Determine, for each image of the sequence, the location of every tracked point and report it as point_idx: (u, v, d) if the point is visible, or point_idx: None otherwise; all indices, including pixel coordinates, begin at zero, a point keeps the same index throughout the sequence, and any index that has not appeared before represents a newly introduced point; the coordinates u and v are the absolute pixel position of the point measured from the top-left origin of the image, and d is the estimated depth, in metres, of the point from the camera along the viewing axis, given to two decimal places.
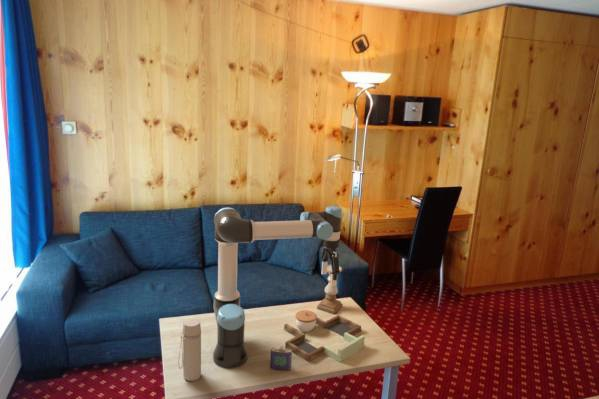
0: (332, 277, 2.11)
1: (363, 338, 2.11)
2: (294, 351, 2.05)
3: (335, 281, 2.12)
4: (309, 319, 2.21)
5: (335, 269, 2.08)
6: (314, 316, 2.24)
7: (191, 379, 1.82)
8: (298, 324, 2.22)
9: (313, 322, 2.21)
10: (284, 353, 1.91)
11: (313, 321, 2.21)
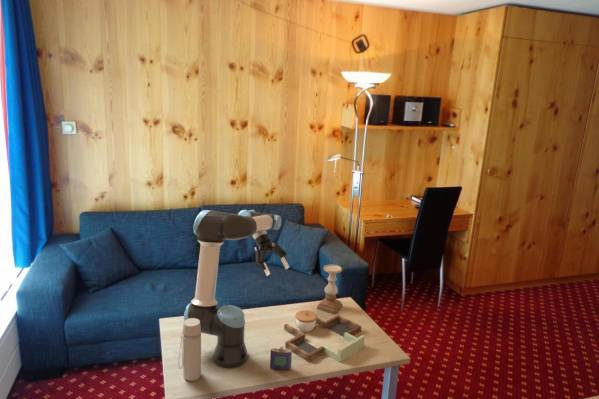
0: (285, 260, 2.41)
1: (363, 338, 2.11)
2: (294, 351, 2.05)
3: None
4: (309, 319, 2.21)
5: None
6: (314, 316, 2.24)
7: (191, 379, 1.82)
8: (298, 324, 2.22)
9: (313, 322, 2.21)
10: (284, 353, 1.91)
11: (313, 321, 2.21)
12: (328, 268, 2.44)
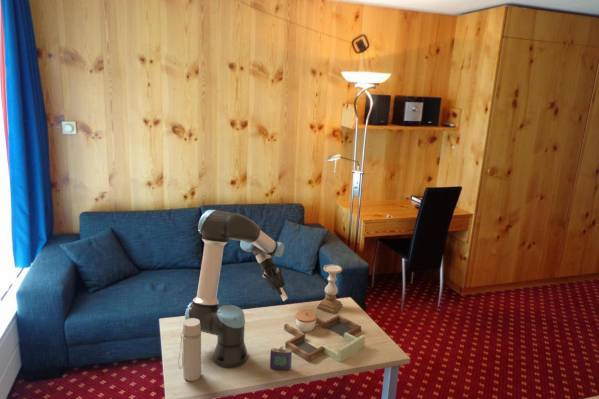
0: (283, 290, 2.37)
1: (363, 338, 2.11)
2: (294, 351, 2.05)
3: None
4: (309, 319, 2.21)
5: None
6: (314, 316, 2.24)
7: (191, 379, 1.82)
8: (298, 324, 2.22)
9: (313, 322, 2.21)
10: (284, 353, 1.91)
11: (313, 321, 2.21)
12: (328, 268, 2.44)
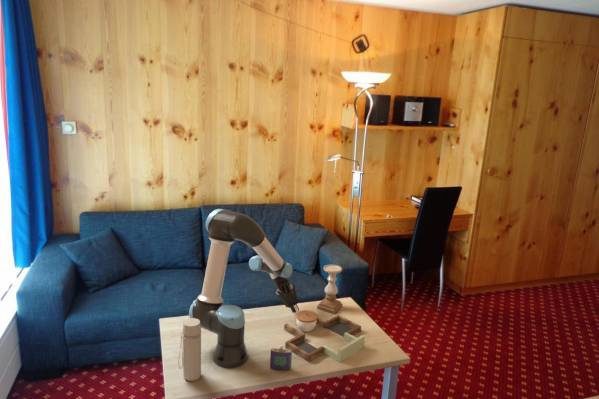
0: (297, 308, 2.32)
1: (363, 338, 2.11)
2: (294, 351, 2.05)
3: None
4: (310, 319, 2.20)
5: None
6: (315, 316, 2.23)
7: (191, 379, 1.82)
8: (299, 324, 2.22)
9: (314, 322, 2.21)
10: (284, 353, 1.91)
11: (314, 321, 2.21)
12: (328, 268, 2.44)
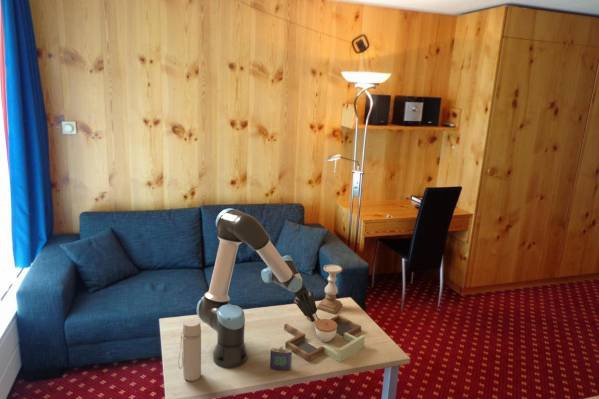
0: (316, 317, 2.24)
1: (363, 338, 2.11)
2: (294, 351, 2.05)
3: None
4: (330, 328, 2.13)
5: None
6: (335, 325, 2.16)
7: (191, 379, 1.82)
8: (318, 333, 2.14)
9: (334, 331, 2.14)
10: (284, 353, 1.91)
11: (334, 330, 2.14)
12: (328, 268, 2.44)
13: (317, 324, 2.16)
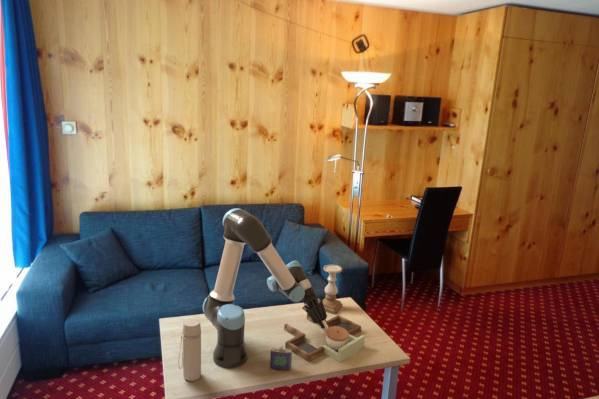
0: None
1: (363, 338, 2.11)
2: (294, 351, 2.05)
3: None
4: (341, 338, 2.06)
5: None
6: (346, 334, 2.09)
7: (191, 379, 1.82)
8: (329, 342, 2.07)
9: (345, 341, 2.07)
10: (284, 353, 1.91)
11: (345, 340, 2.07)
12: (328, 268, 2.44)
13: (328, 332, 2.09)
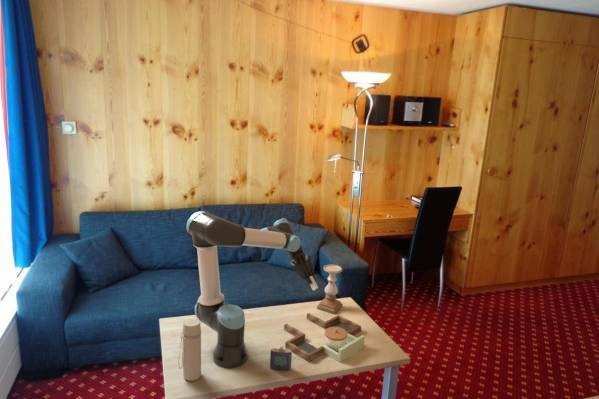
0: (313, 279, 2.19)
1: (363, 338, 2.11)
2: (294, 351, 2.05)
3: None
4: (340, 337, 2.06)
5: None
6: (345, 333, 2.09)
7: (191, 379, 1.82)
8: (328, 342, 2.08)
9: (344, 340, 2.07)
10: (284, 353, 1.91)
11: (344, 339, 2.07)
12: (328, 268, 2.44)
13: (327, 332, 2.09)
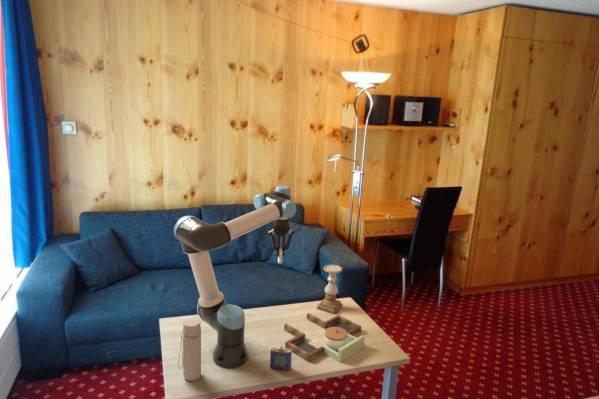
0: (282, 254, 2.24)
1: (363, 338, 2.11)
2: (294, 351, 2.05)
3: None
4: (340, 337, 2.06)
5: None
6: (345, 333, 2.09)
7: (191, 379, 1.82)
8: (328, 342, 2.08)
9: (344, 340, 2.07)
10: (284, 353, 1.91)
11: (344, 339, 2.07)
12: (328, 268, 2.44)
13: (327, 332, 2.09)
